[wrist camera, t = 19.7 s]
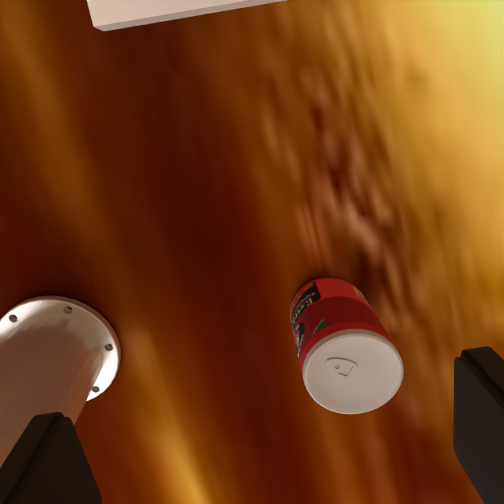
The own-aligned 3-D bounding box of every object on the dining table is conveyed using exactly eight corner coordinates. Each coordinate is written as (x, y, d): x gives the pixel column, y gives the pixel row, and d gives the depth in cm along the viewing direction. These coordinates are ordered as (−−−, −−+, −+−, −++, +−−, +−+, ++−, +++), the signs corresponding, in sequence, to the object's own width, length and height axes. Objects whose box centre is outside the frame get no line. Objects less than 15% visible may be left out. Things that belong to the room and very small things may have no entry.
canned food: (296, 269, 42) (315, 326, 31) (374, 280, 42) (417, 340, 32) (281, 335, 44) (294, 409, 34) (355, 345, 45) (389, 420, 35)
